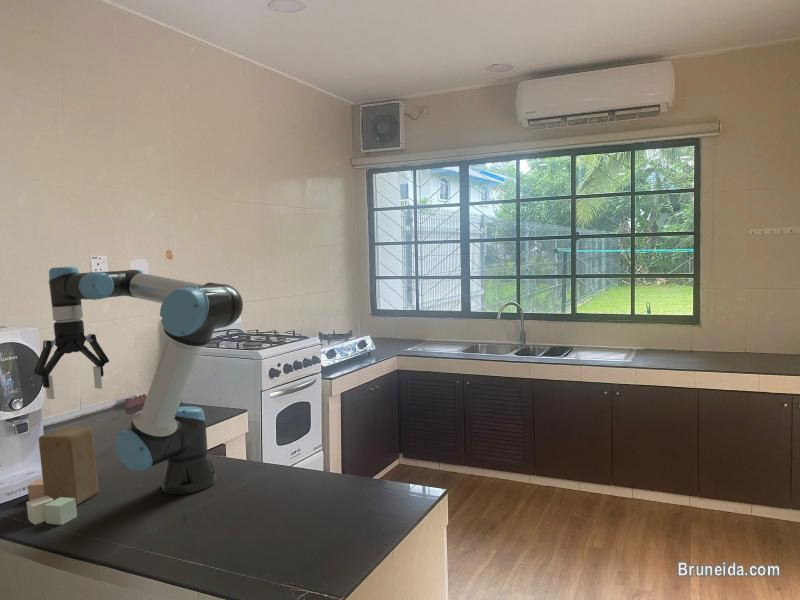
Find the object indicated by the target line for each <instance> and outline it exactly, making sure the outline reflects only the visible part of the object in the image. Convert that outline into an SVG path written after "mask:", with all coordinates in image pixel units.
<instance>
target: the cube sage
mask: <svg viewBox="0 0 800 600" xmlns="http://www.w3.org/2000/svg"><path fill="white" fill-rule="evenodd" d="M45 514H46V521H45V522H46V524H49V525H58V526H59V525H60V526H61V525H64V524H66V523H68V522H70V521H72V520H74V519H75V518H77V517H78V510H77V505H76V499H75V498H64V497H60V498H58V499H56V500H54V501H52V502H50V503H48V504H46V505H45Z"/></svg>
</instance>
